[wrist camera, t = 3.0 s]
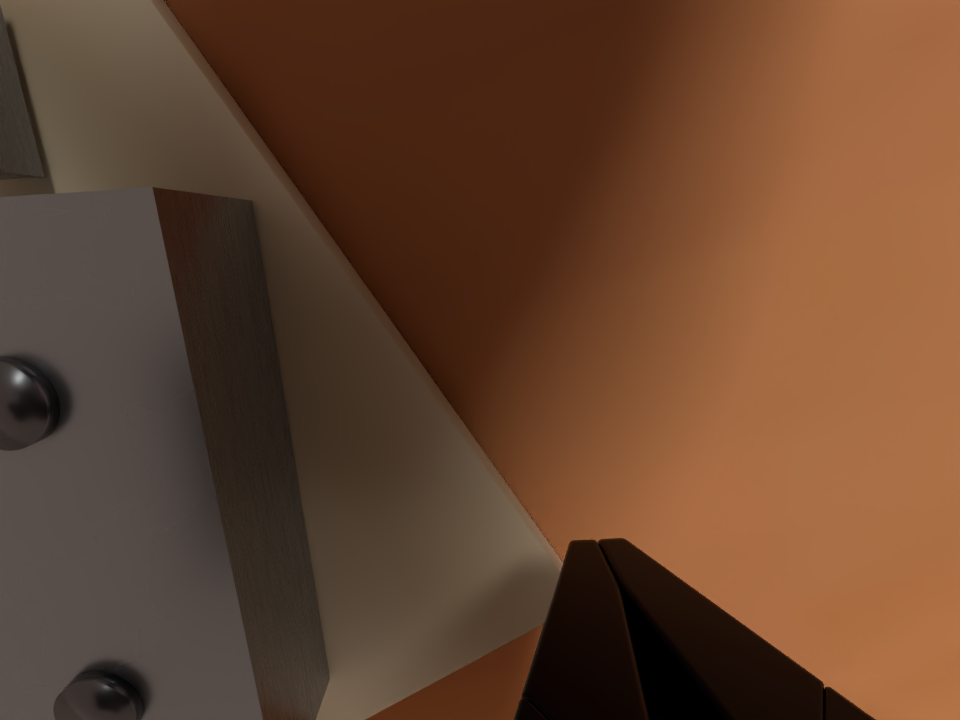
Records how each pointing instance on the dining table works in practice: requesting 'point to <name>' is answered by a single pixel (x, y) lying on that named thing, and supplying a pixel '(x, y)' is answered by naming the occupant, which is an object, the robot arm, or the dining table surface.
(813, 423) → the dining table surface
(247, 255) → the gray two-knob panel
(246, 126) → the mounting board
